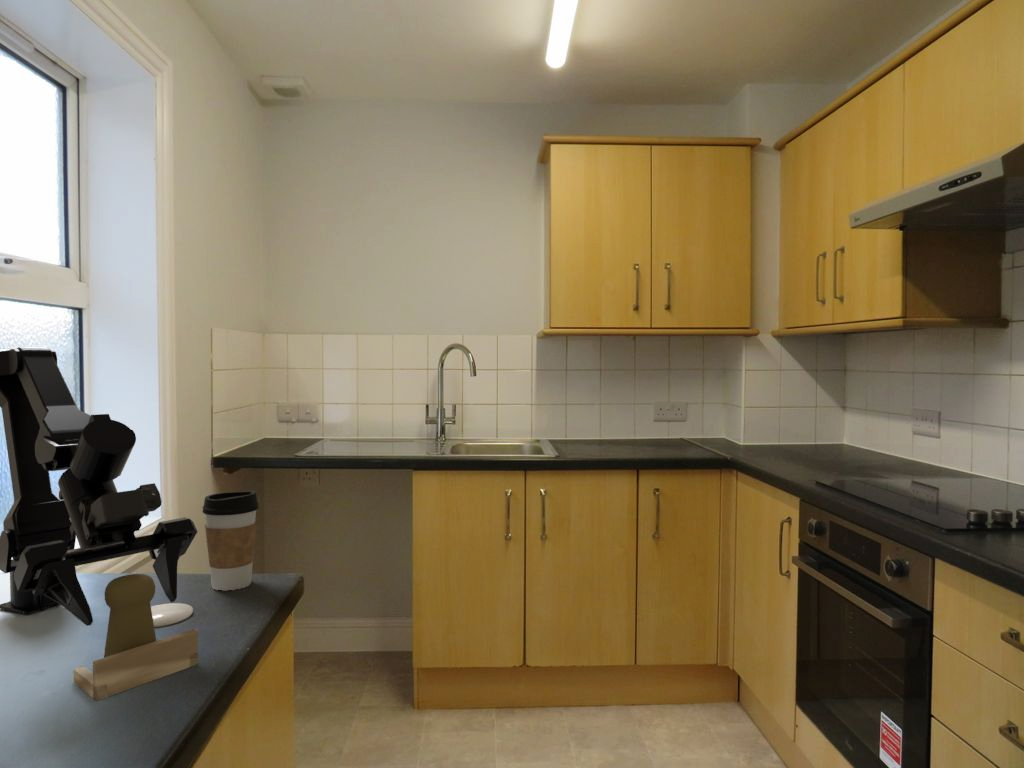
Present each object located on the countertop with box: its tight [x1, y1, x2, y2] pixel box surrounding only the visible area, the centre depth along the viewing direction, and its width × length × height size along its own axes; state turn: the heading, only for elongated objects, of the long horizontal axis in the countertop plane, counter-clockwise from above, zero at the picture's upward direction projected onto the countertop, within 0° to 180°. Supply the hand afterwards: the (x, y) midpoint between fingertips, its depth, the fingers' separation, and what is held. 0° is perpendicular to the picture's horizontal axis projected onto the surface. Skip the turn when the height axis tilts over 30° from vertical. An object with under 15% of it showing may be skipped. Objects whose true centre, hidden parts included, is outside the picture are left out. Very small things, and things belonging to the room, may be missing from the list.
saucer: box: [151, 602, 194, 628], centre depth 94 cm, size 8×8×1 cm
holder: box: [73, 628, 199, 702], centre depth 77 cm, size 6×11×4 cm, turn 142°
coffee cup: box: [202, 490, 259, 592], centre depth 107 cm, size 8×8×15 cm
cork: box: [103, 573, 157, 658], centre depth 78 cm, size 6×6×11 cm
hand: (134, 611), depth 77 cm, fingers open, 9 cm apart
